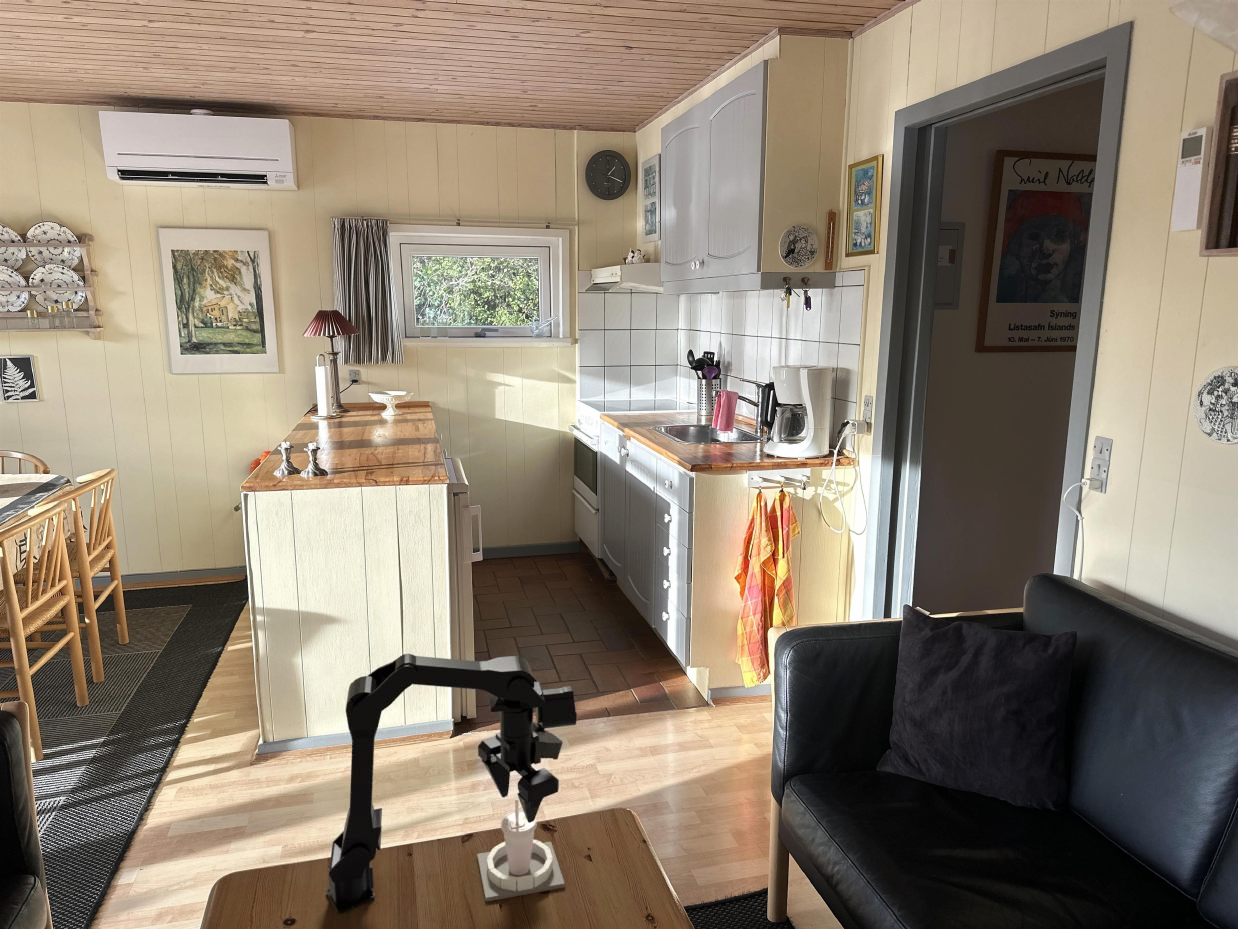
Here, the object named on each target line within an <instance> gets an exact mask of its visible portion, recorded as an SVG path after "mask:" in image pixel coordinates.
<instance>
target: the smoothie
mask: <svg viewBox="0 0 1238 929" xmlns="http://www.w3.org/2000/svg"><path fill="white" fill-rule="evenodd" d="M514 803H515V804H514V806H515V807H514V808H515V811H512V812H509V813H507V814H505V815H504V816H503V817H502V819H501V822H500V829H501V831H502V834H503V838H504V841H505V846H506V852H507V859H508V865H509V871H510V872H511V873H512V874H514V875H523V874H525V873H527V872H528V871H529V868H530V860H531V853H532V845H533V839H534V836H535V830H536V829H537V826H538V825H537V818H536V817H535V820H534V821H533V822H530V823H529V822H528V821H527V819H526V816H525V814H524V811H523V810H519V799H517V800H515V802H514Z"/></svg>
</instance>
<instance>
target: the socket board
mask: <svg viewBox="0 0 1238 929" xmlns="http://www.w3.org/2000/svg"><path fill="white" fill-rule="evenodd" d="M476 856H477V857H476V858H477V862H478V868H479V873H480V874H479V875H480V878H481V879H480V880H481V883H482V890H483V895H484V899H485V900H484V901H485V902H492V901H497V900H498V901H499V900H503V899H504V900H505V899H508V898H513V897H520V896H524V895H530V894H535V893H540V892H541V893H542V892H547V891H552V890H558V889H563V888H565V885H566V884H565V880H564V877H563V875H562V871H561V868H560V865H559V861H558V859H557V856H556V852H555V849H554V846H553V844H552V841H545V842H542V841H541V840H538V839H534V838H533V845H532V853H531V860H530V868H529V871H528V872H527V873H525V874H523V875H514V874H512V873H511V872H510V871H509V865H508V859H507V852H506V846H505V840H504V841H503V842H500V843H499V844H496V846H493V848H492V849H491V851H487V852H481V853H477V855H476Z"/></svg>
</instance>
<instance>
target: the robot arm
mask: <svg viewBox="0 0 1238 929" xmlns="http://www.w3.org/2000/svg"><path fill="white" fill-rule="evenodd" d="M412 685H414V686H415V685H418V686H428V687H441V688H453V689H454V688H456V689H465V690H466V689H468V690H478V691H482V692H486V693H488V694H489V695H492V697H491V698H490V699H489V700H488V705H489V711H490V712H491V713H497V712H498V713H499V718H500V719H499V724H500V727H499V729H500V730H499V732H497V733H495V735H494V736H491V737H488V738H486V739H482V740H481V742H480V743H479V744H478V745H477V755H478V757H479V758H480V759H481V762H482V763H483V765H484V766H485V768H486V770H487V772H488V774H489V775H490V778H491V779H492V781H493V783H494V784H495V787H496V789H497V790H498V793H499V794H500V796H501V797H502V798H507V797H508V795H509V790H510V778H511V773H512V772H516V773H517V774H519V776H520V778H519V781H518V782H517V790H518V793H517V797H518V801H519V802H520V805H521V808H522V811H524V814H525V816H526V819H527V821H528V822H529V823H530V822H533V821H534V820H535V818H536V816H537V814H538V811H539V809H540V806H541V804H542V802H543V800H544V799H545V798H546V797H547V798H548V797H549V796H552V795H554V794H556V793H559V790H560V779H559V778H558V777H557V776H555V775H554V774H552V772H550V771H549V770H548V769H546V767H543V768H540V769H537V770H536V769H535V768H534V767H533V766H532V765H533V764H534V765H538V764H541V762H542V759H553V760H558V759H559V756H560V753H561V750H562V746H563V741H562V740H561V739H560V738H558V737H557V736H556V735H555V734H554V733H552V732H550V731H548V730H546V729H551V728H553V729H554V728H562V727H570V726H571V727H572V726H576V725H577V720H578V719H577V718H578V716H577V715H578V714H577V710H576V704H575V702H576V701H575V698H574V696H575V695H574V689H573V687H572V686H570V685H568V686H563V687H557V688H550V689H549V688H548V689H542V687H541V684H540V682H539V681H538V680H537V679H536V677H535V676H533V672H532V669H531V666H530V664H529V662H528V661H527V660H526V659H525V658H524V657H523V656H517V655H513V656H512V655H511V656H510V655H509V656H500V657H499V656H498V657H495V658H492V659H489V660H481V661H480V660H479V661H477V660H466V659H457V658H456V659H454V658H444V657H432V656H430V657H429V656H420V655H414V654H413V653H412V654H411V653H404V654H402V655H400V656H398V657H397V658H396V659H394V660H393V661H391V662H389V663H386V664H384V665H382V666H379V667H377V668H376V669H374V670H373V671H372V672H371V673H369V674H368V675H365V676H360V677H358V678H355V679H354V680H353V681H352V682H350V684H349V686H348V693H347V698H346V704H345V715H346V722H347V726H348V727H347V728H348V731H349V733H350V737H351V764H350V765H351V766H350V787H349V788H350V792H349V793H350V794H349V808H348V811H347V814H346V820H345V822H344V827H343V831H342V832H341V833H340V834H339V835H337V837H336V838H335V839H334V840H333V841H332V845H331V854H330V861H329V866H327V869H328V886H329V888H328V889H326V895H327V896H328V898H329V900H330V902H331V903H332V904H333V907H334V908H335V910H336V911H337V913H338V914H342V913H345V912H347V911H349V910H351V909H354V908H355V907H358V906H360V905H362V904H364V903H368V902H369V901H372V900H374V899H375V897H376V894H375V892H374V891H373V889H374V888H375V885H374V884H375V883H374V882H375V881H374V868H373V866H372V864H370V863H371V862H372V861H374V860H375V858H376V854H377V851H381V848H382V847H381V845H382V827H383V826H382V816H383V808H382V807H381V808H380V807H379V808H375V807H374V804H373V789H374V788H373V787H374V786H373V785H374V783H373V782H374V764H375V762H374V761H375V760H374V758H375V739H376V738H375V737H376V734H377V731H378V728H379V723H380V721H381V720H380V719H381V716H382V712H383V711H384V710H386V709H387V708H388V707H389V706H391V705H392V704H393V703H394V701H396V699H397V698H398V697H399V696H401V695H402V694H403V692H404V691H405V690H407V689H408V688H409V687H411V686H412ZM534 711H535V720H536V722H534Z"/></svg>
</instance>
